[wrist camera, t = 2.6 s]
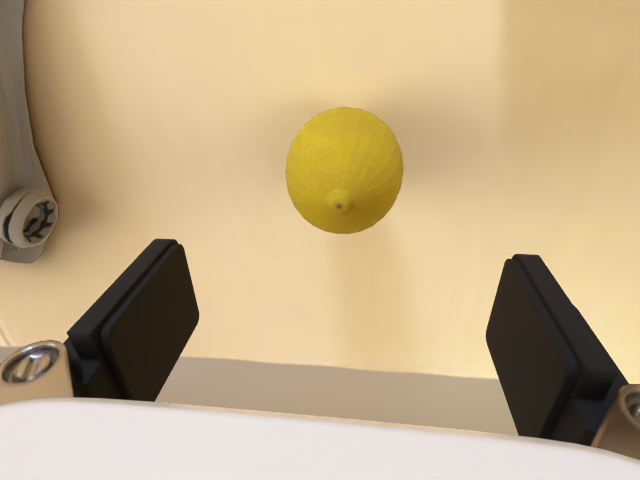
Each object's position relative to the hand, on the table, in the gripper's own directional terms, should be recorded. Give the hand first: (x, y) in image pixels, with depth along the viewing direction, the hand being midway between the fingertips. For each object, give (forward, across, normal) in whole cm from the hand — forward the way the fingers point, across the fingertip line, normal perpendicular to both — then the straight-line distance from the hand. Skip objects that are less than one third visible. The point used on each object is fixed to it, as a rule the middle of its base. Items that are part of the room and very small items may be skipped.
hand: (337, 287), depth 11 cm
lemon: (+13, 0, 0) cm, 13 cm away
